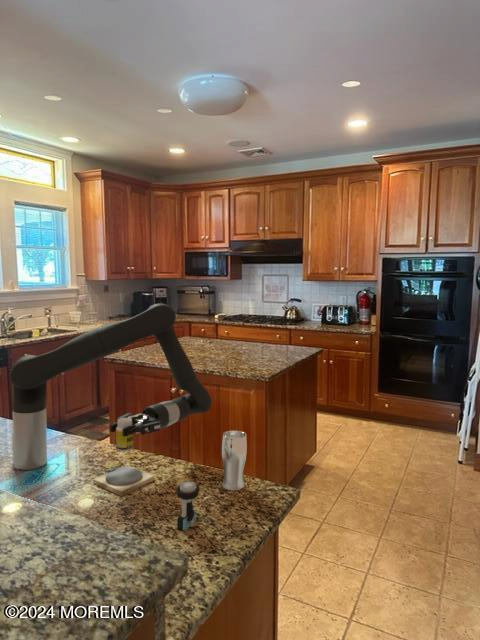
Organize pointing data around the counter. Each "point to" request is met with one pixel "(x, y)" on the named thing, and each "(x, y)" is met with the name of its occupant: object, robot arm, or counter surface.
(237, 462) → the beer glass
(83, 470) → the counter surface
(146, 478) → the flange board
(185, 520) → the push button
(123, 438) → the supplement bottle
